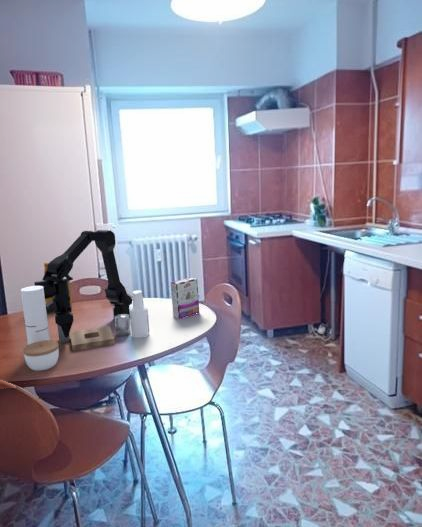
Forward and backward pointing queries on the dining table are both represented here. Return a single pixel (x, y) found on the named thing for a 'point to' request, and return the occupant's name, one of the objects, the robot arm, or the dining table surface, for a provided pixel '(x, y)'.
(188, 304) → the candy bar box
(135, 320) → the spray bottle
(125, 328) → the clear glass jar
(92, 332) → the bore block
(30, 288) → the cylindrical container
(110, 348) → the dining table surface
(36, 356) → the lidded jar
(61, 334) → the square bit
